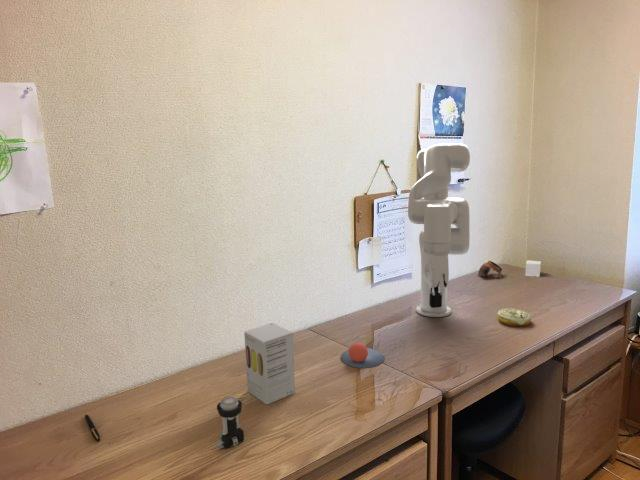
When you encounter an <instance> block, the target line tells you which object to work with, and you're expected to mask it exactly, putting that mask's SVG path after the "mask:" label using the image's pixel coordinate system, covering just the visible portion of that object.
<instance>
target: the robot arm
mask: <svg viewBox="0 0 640 480" xmlns="http://www.w3.org/2000/svg"><path fill="white" fill-rule="evenodd" d="M470 153H471V152H470V150H469V147H468V146H467V145H466V144H463V143H438V144H433V145H430V146H428V147H427V148H423V149H421V150H419V151H418V152H417V154H416V155H417V156H416V164H417V170H418V173H419V176H420V179H419V180H418V181H416V182H415V183H414V184H413V186H412V187H411V188H410V191H409V194H408V204H407V216H408V220H409V221H410V222H411V223H413V224H416V225H423V230H421V231H420V233H419V236H418V237H419V238H418V242H419V252H420V263H421V265H420V304H418V305H417V306H416V308H415V310H416V312H417V313H418V314H419V315H421V316H425V317H429V318H442V317H447V316H449V315H450V314H451V313H452V308H451V307H450V306H448V285H449V276H450V275H449V274H450V271H449V255H451V256H453V255H465V254H467V253H468V251H469V249H470V238H471V237H470V206H469V205H470V204H469V202H468V201H467V200H466V198H465V199H464V198H463V197H449V186H450V184H451V182H452V173H453V172H455V173H457V172H458V173H460V172H461V173H462V172H465V171H466V170H467V169H468V167H469V165H470V161H471V154H470ZM453 225H454V226H455V227H452V226H453Z"/></svg>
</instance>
